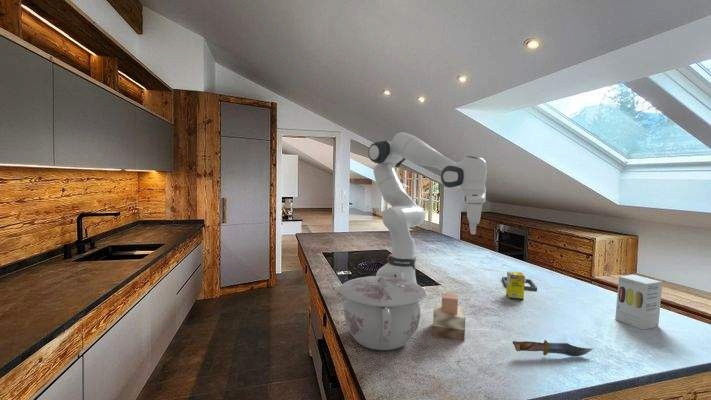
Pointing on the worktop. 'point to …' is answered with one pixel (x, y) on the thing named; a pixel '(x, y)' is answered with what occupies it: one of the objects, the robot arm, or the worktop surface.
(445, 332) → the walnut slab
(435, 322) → the birch slab
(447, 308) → the terracotta block
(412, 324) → the chamber pot
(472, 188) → the robot arm
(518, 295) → the supplement box
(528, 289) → the grey square frame
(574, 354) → the knife
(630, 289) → the supplement box
